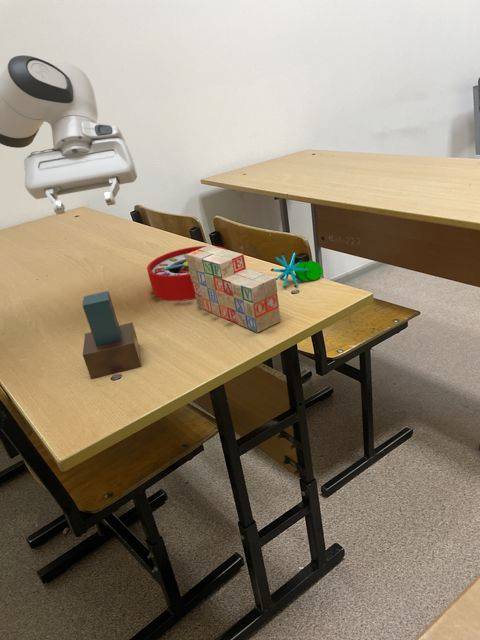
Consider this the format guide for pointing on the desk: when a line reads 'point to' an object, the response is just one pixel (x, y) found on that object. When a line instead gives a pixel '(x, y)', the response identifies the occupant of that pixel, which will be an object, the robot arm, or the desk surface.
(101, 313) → the teal block
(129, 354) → the walnut block
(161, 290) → the toy clock
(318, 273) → the stick construction toy
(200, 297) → the stack of blocks
